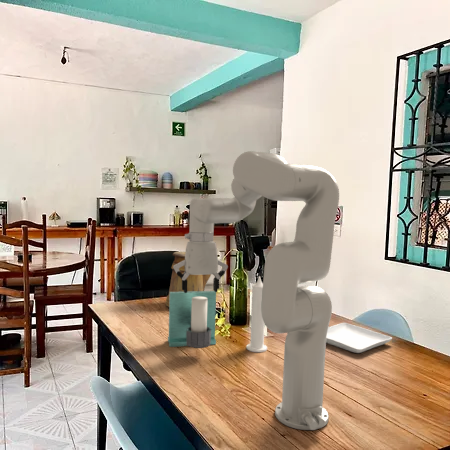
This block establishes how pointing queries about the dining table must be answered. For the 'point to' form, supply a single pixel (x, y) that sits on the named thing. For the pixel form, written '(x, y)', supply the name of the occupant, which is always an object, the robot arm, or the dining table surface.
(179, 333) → the cup bracket
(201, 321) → the white cylinder
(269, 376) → the dining table surface
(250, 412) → the dining table surface
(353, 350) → the salad plate
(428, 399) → the dining table surface
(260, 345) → the candle
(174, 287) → the tankard
